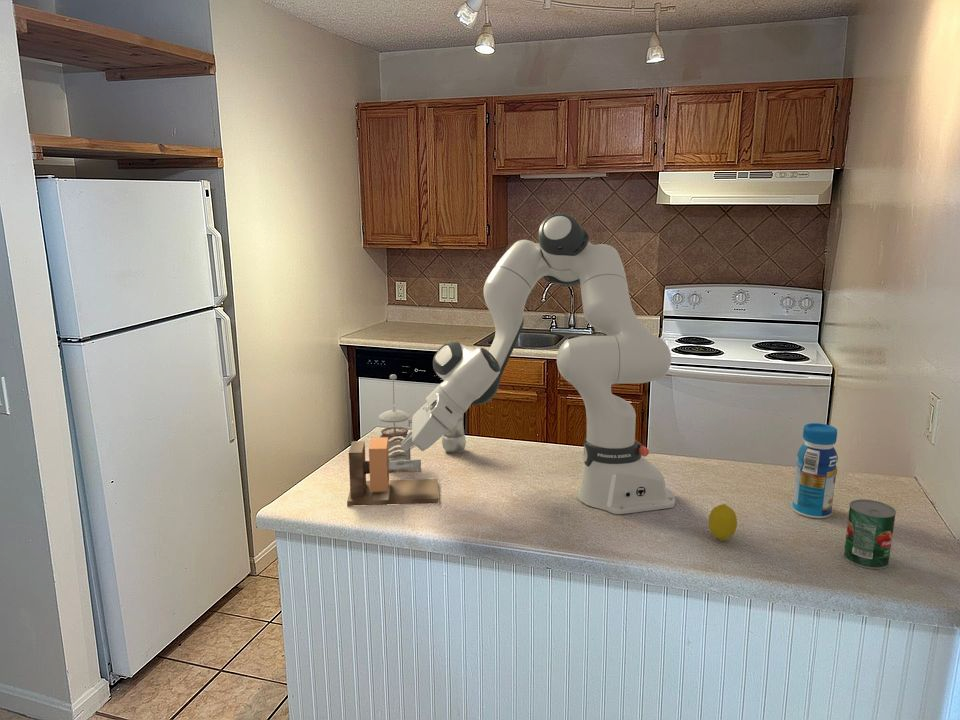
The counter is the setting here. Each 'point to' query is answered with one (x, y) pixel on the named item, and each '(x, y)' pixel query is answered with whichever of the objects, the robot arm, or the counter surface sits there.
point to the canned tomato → (869, 534)
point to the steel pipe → (398, 466)
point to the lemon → (722, 522)
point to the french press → (395, 430)
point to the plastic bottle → (455, 438)
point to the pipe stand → (397, 489)
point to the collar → (378, 464)
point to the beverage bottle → (816, 471)
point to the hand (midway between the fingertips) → (402, 447)
